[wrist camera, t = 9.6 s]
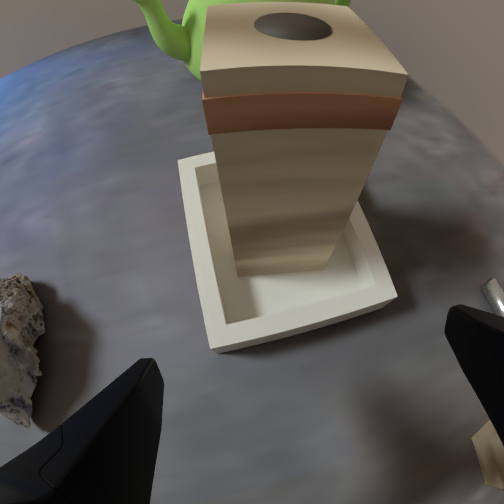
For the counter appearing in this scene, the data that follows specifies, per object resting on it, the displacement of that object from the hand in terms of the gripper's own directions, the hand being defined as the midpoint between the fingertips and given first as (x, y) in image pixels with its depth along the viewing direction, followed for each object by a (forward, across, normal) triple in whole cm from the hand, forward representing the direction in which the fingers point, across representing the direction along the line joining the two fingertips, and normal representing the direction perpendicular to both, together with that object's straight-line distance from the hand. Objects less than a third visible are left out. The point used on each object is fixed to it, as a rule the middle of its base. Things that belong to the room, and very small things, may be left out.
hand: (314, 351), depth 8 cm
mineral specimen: (+7, +19, +5) cm, 21 cm away
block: (+11, 0, 0) cm, 11 cm away
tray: (+12, 0, 0) cm, 12 cm away
